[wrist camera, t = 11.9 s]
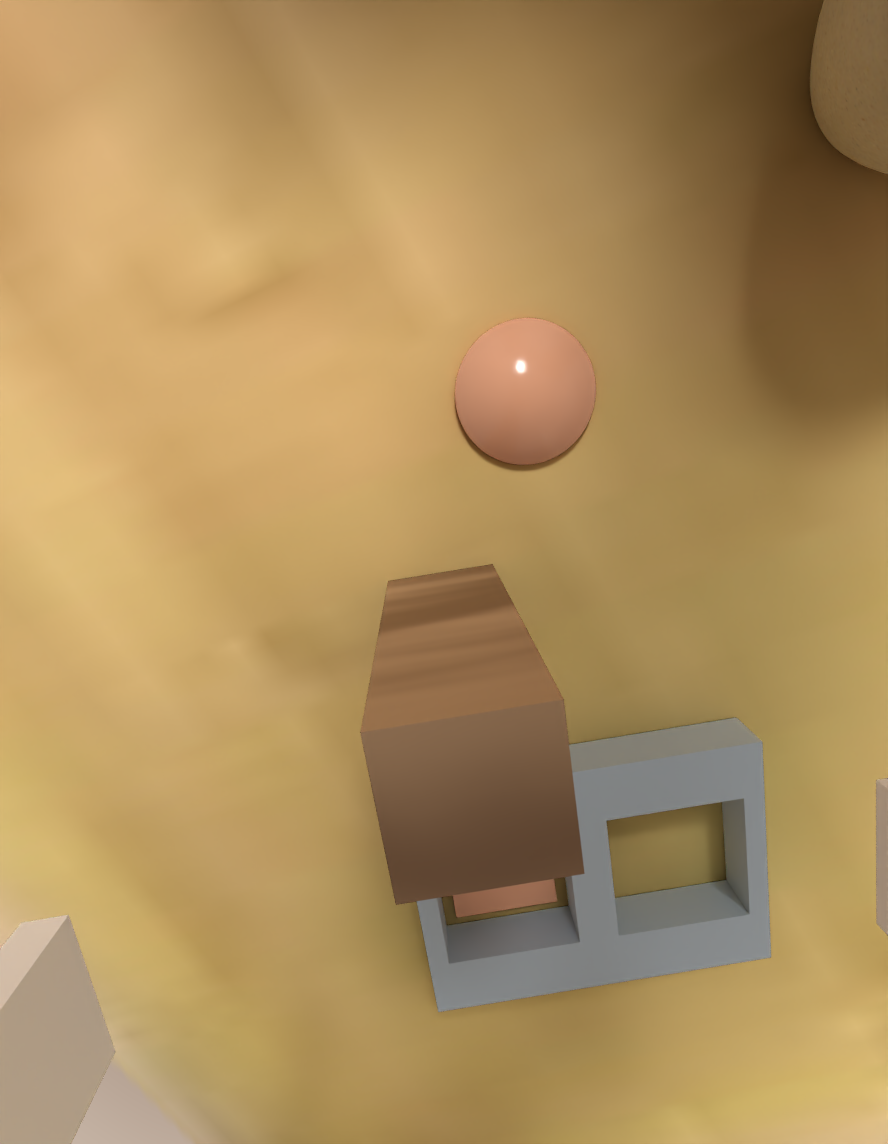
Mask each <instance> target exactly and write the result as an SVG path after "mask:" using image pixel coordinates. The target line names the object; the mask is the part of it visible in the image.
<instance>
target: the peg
mask: <svg viewBox="0 0 888 1144" xmlns="http://www.w3.org/2000/svg"><path fill="white" fill-rule="evenodd" d="M360 733H361V738H362V743H363V748H364V752H365V757H366V762H367V767H368V772H369V777H370V781H371V786H372V791H373V796H374V801H375V806H376V811H377V815H378V820H379V825H380V830H381V835H382V840H383V844H384V849H385V854H386V859H387V864H388V869H389V874H390V878H391V883H392V888H393V893H394V898H395V903H396V905H397V904H403V903H410V902H416V901H422V900H428V899H434V898H440V897H446V896H452V895H458V894H465V893H471V892H477V891H483V890H489V889H495V888H501V887H507V886H513V885H519V884H526V883H532V882H538V881H544V880H550V879H556V878H562V877H568V876H574V875H581V874H585V873H584V864H583V856H582V848H581V839H580V831H579V823H578V815H577V806H576V798H575V790H574V782H573V773H572V765H571V757H570V748H569V740H568V732H567V724H566V715H565V707H564V699H563V697H562V696H561V694H560V692H559V690H558V688H557V686H556V684H555V682H554V680H553V678H552V677H551V675H550V673H549V671H548V669H547V667H546V665H545V663H544V661H543V659H542V658H541V656H540V654H539V652H538V650H537V648H536V646H535V644H534V642H533V640H532V638H531V637H530V635H529V633H528V631H527V629H526V627H525V625H524V623H523V621H522V619H521V618H520V616H519V614H518V612H517V610H516V608H515V606H514V604H513V602H512V600H511V599H510V597H509V595H508V593H507V591H506V589H505V587H504V585H503V583H502V581H501V580H500V578H499V576H498V574H497V572H496V570H495V568H494V566H493V564H491V565H485V566H479V567H472V568H466V569H460V570H454V571H448V572H442V573H435V574H429V575H423V576H417V577H411V578H404V579H398V580H392V581H388V585H387V591H386V596H385V602H384V607H383V613H382V618H381V623H380V629H379V634H378V640H377V645H376V651H375V656H374V661H373V667H372V672H371V678H370V683H369V689H368V694H367V699H366V705H365V710H364V716H363V721H362V727H361V732H360Z"/></svg>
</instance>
